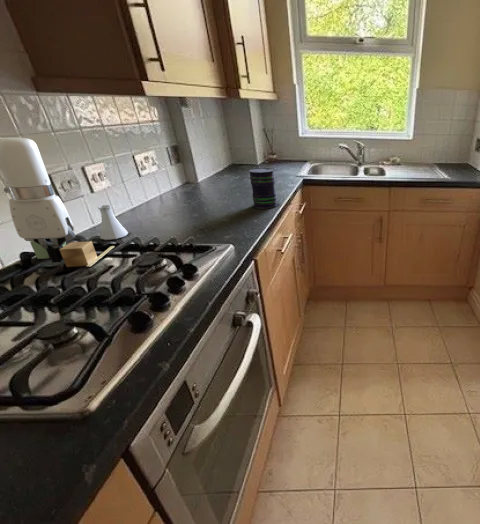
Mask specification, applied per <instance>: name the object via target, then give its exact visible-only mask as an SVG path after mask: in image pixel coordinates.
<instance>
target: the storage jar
mask: <svg viewBox="0 0 480 524" xmlns="http://www.w3.org/2000/svg"><path fill="white" fill-rule="evenodd" d="M268 163H269V161H264V164H268ZM274 172H275V171H274V168H268V167H267V168H266V167H260V168H258V167H257V168H252V169H249V180H250V185H251V188H252V194H251V195H252V201H253V208H255V209H263V210H264V209H273V208H275V207H277V206H278V197H277V192H276V186H275V185H276V177H275V173H274Z"/></svg>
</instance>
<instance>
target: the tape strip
mask: <svg viewBox="0 0 480 524" xmlns="http://www.w3.org/2000/svg"><path fill="white" fill-rule="evenodd" d="M114 248H115V245H111V246H109V247H108V248H107V249H106V250H104V251H103V252H102V253H100V254H99V255H97V258H96V259H95V260H93V261H92V262H91V263H90V264H88V265H87V266H85V267H86V268H90V267H92V266H94V265H95V264H96V263H97V262H98V261H100V259H102V258H103V257H104V256H106V255H107V254H108V253H109V252H110V251H111V250H113V249H114Z"/></svg>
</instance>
